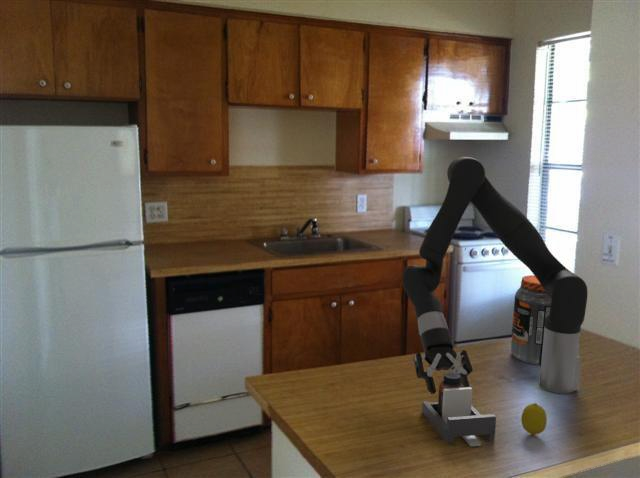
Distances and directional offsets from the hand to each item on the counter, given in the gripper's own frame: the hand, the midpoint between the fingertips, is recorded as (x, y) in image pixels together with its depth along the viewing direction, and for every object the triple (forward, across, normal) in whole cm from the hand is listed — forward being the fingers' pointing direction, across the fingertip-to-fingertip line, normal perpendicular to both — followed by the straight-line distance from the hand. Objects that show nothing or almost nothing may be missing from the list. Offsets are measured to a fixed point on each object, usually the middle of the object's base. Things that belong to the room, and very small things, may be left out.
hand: (449, 392), depth 143 cm
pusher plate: (+11, 0, -2) cm, 11 cm away
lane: (+8, 0, +1) cm, 8 cm away
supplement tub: (-19, +45, +28) cm, 57 cm away
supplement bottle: (+5, 0, +4) cm, 7 cm away
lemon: (+13, +16, -4) cm, 21 cm away
